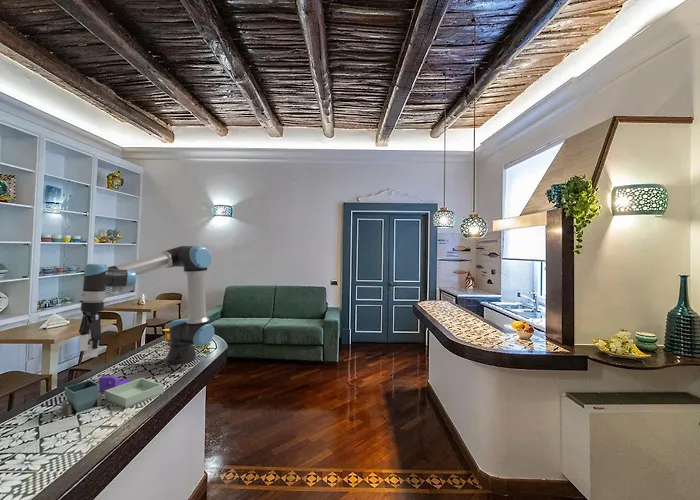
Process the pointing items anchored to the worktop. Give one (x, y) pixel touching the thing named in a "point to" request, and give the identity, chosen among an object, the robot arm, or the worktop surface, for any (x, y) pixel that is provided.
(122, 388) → the pale green square tray
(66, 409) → the holder
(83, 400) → the flower pot
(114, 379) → the bracket
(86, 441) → the worktop surface
